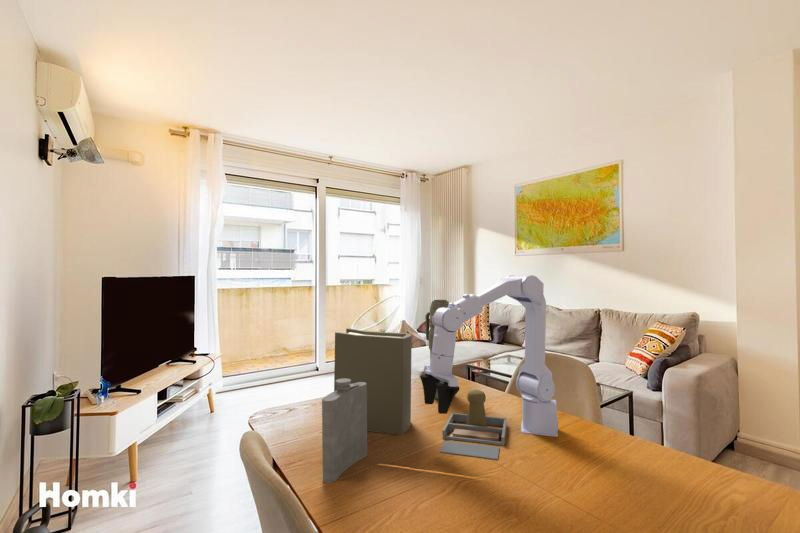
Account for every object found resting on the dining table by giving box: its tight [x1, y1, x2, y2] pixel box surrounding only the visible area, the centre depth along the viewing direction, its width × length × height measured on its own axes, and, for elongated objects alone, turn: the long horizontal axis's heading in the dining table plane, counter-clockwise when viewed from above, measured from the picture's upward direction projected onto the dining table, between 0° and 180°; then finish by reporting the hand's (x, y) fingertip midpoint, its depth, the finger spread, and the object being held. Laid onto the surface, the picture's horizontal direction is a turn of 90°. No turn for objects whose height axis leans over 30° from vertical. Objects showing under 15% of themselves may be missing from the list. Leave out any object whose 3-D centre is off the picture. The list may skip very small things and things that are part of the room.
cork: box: [466, 389, 488, 427], centre depth 111 cm, size 6×6×11 cm
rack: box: [441, 412, 508, 446], centre depth 109 cm, size 16×14×2 cm
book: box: [333, 327, 413, 436], centre depth 115 cm, size 22×9×28 cm, turn 74°
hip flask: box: [321, 378, 368, 484], centre depth 91 cm, size 16×4×20 cm, turn 154°
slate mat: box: [439, 440, 500, 461], centre depth 97 cm, size 14×6×1 cm, turn 72°
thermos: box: [425, 299, 450, 401], centre depth 142 cm, size 9×12×35 cm
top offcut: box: [453, 428, 500, 442], centre depth 105 cm, size 12×4×1 cm, turn 72°
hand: (435, 408), depth 98 cm, fingers open, 7 cm apart
